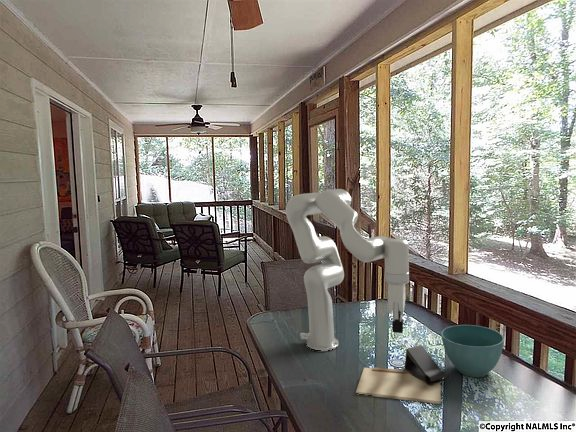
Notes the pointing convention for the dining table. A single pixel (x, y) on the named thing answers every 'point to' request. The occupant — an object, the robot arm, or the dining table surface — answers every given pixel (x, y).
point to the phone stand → (423, 366)
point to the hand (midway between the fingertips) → (397, 331)
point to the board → (397, 385)
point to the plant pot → (473, 348)
